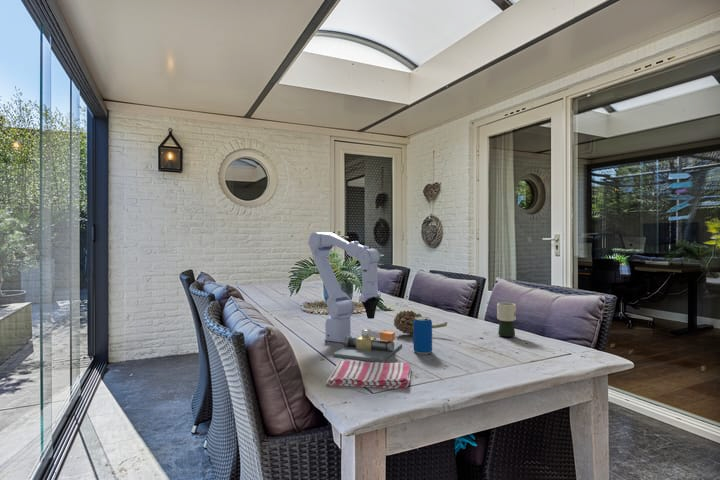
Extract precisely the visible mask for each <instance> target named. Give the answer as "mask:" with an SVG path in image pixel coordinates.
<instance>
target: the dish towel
mask: <svg viewBox="0 0 720 480" xmlns="http://www.w3.org/2000/svg"><path fill="white" fill-rule="evenodd" d="M411 373H412V372H411V362H383V363H381V362H374V361H370V362H369V361H367V362H366V361H363V360H340V361H338V363H337V364H336V366H335V368H334V369H333V371H332V372H331V374H330V375H329V377H328V378H327V380H326V383H325V384H326V386H334V387H335V386H337V387H338V386H340V387H361V388H362V387H365V388H381V389H399V390H400V389H401V390H405V389H407V388H408V386H409V385H410V380H411Z"/></svg>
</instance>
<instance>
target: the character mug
mask: <svg viewBox="0 0 720 480" xmlns="http://www.w3.org/2000/svg"><path fill="white" fill-rule="evenodd" d="M496 310H497V311H496V318H497V320H499V321H500V322H499V324H498V325H499V326H498V333H497V334H498V335H499V336H501V337H506V338H509V337H515V336H516V331H515V324H514V321H516V320H517V304H516V303H513V302H498V303H497V304H496Z"/></svg>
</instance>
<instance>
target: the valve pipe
mask: <svg viewBox="0 0 720 480" xmlns="http://www.w3.org/2000/svg"><path fill="white" fill-rule="evenodd" d="M351 336H352V335H351ZM351 336H347V337H346V338H345V340H344V344H343V345H344V347H345V346H346V347H349V346H351V347H356V349H360V350H369V351H371V350H373V349H377V350H385V351H387V352H391V351H393V350H394V343H395V342H394V340H393V341H386V340H380V339H377V338H373V337H370V338H362V335H360V336H358V337H355V338H352V337H353V336H352V337H351Z"/></svg>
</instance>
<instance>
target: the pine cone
mask: <svg viewBox="0 0 720 480" xmlns="http://www.w3.org/2000/svg"><path fill="white" fill-rule="evenodd" d="M415 317H423V315H422V314H421V313H416V312H415V311H413V310H403V311H399V312H398V313H396V315H395V317H394V319H393V325H394V327H395V329H396V330H399V332H402V334H407V335H410V336H412V335H413V321H414V320H415ZM448 324H449V322H448V321H444V322H443V323H440V324H432V329H437V328H438V329H439V328H444V327H447V325H448Z"/></svg>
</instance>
